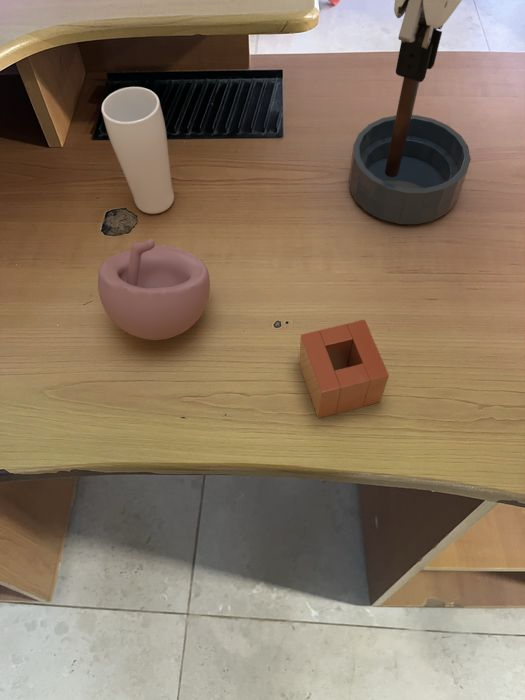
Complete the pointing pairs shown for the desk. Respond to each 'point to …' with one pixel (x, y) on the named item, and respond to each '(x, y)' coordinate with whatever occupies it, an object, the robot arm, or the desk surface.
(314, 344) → the holder
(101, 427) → the desk surface
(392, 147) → the stirring stick
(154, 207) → the drinking glass
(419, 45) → the robot arm
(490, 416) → the desk surface
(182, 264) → the mortar and pestle
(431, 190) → the bowl
